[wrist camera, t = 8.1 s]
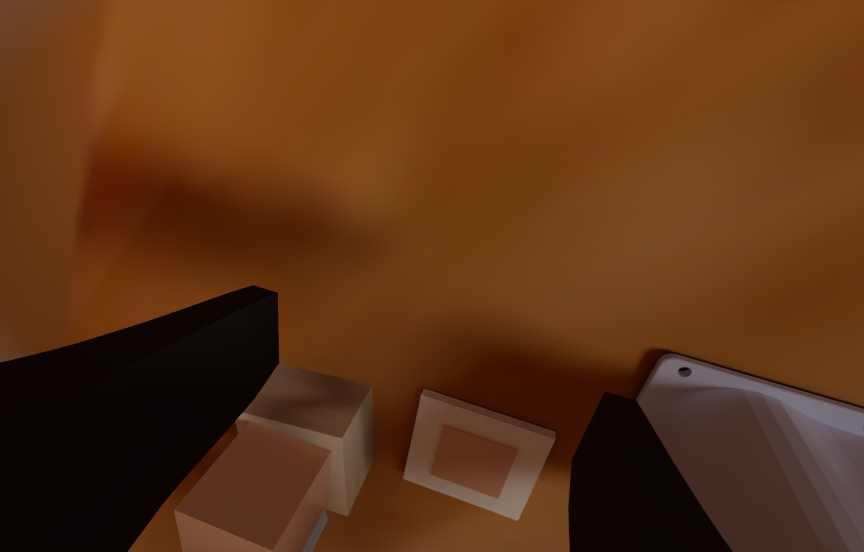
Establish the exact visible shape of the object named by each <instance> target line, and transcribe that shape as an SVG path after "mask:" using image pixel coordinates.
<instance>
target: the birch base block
mask: <svg viewBox="0 0 864 552" xmlns="http://www.w3.org/2000/svg"><path fill="white" fill-rule="evenodd" d="M249 421H252V422H255V423H258V424H260V425H263V426H266V427H268V428H271V429H274V430H276V431H279V432H282V433H285V434H287V435H290V436H293V437H295V438H298V439H301V440H303V441H306V442H309V443H311V444H314V445H317V446H319V447H322V448H325V449H328V450H330V451H331V460H330V471H329V482H328V493H327V504H326V507H325V509H326V510H329V511H332V512H335V513H339V514H342V515H345V516H348V515H349V512H350V510H351V508H352V506H353V504H354V502H355V499H356V497H357V495H358V493H359V491H360V489H361V487H362V484H363V482H364V480H365V478H366V476H367V474H368V472H369V469H370V467H371V465H372V463H373V461H374V442H373V398H372V386H371V385H367V384H363V383H358V382H354V381H350V380H346V379H341V378H337V377H333V376H329V375H324V374H320V373H316V372H311V371H307V370H303V369H299V368H294V367H290V366H286V365H282V364H278V365H277V367H276V368H275V370H274V371H273V373H272V374H271V376H270V377H269V379H268V380H267V382H266V383H265V385H264V386H263V388H262V389H261V391H260V392H259V393H258V395H257V396H256V398H255V399H254V400H253V401H252V403H251V404H250V405H249V406H248V407H247V408H246V410H245V411H244V412H243V413H242V414H241V415H240V416H239V418H238V419H237V420H236V421H235V422H236V426H237V431H238V434H239V433H240V432H241V431H242V429H243V428H244V427H245V426H246V425H247V424H248V422H249Z"/></svg>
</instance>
